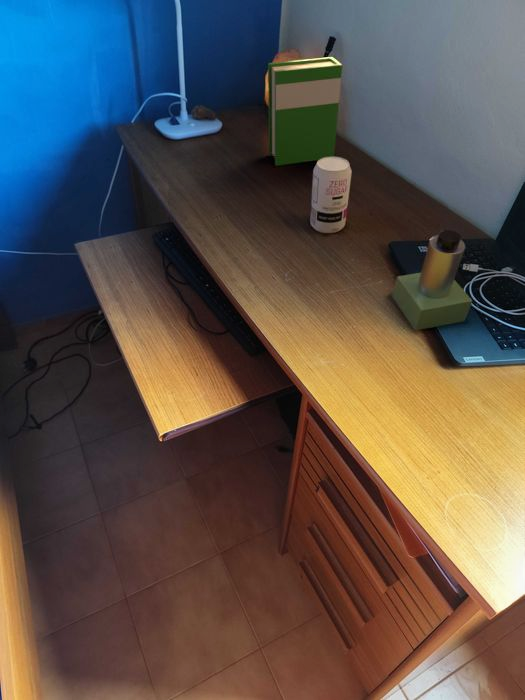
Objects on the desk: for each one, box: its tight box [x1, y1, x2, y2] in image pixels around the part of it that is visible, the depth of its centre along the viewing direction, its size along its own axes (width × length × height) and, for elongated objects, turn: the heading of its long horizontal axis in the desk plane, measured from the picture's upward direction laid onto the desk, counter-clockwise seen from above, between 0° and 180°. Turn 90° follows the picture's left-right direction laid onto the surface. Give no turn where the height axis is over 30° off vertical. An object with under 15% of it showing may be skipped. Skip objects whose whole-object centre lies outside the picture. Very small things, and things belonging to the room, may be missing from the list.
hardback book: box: [267, 56, 343, 167], centre depth 128 cm, size 18×7×24 cm, turn 105°
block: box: [392, 272, 473, 331], centre depth 87 cm, size 10×10×5 cm
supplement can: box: [309, 156, 353, 234], centre depth 105 cm, size 8×8×15 cm
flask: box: [417, 229, 466, 298], centre depth 82 cm, size 6×6×11 cm
